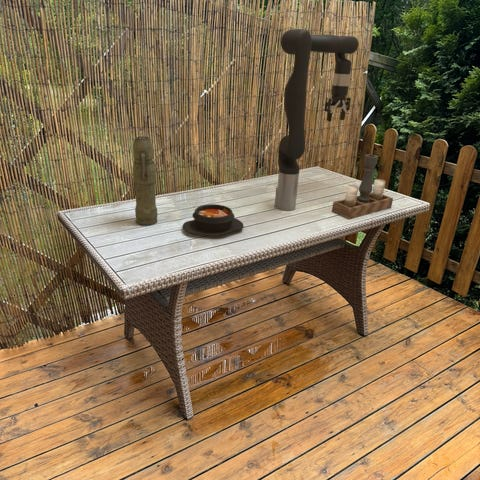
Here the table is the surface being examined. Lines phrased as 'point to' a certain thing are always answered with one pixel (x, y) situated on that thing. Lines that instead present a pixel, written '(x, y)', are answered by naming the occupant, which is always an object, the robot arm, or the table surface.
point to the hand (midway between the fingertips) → (335, 120)
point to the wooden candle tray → (355, 208)
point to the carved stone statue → (144, 181)
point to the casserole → (213, 221)
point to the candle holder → (367, 178)
